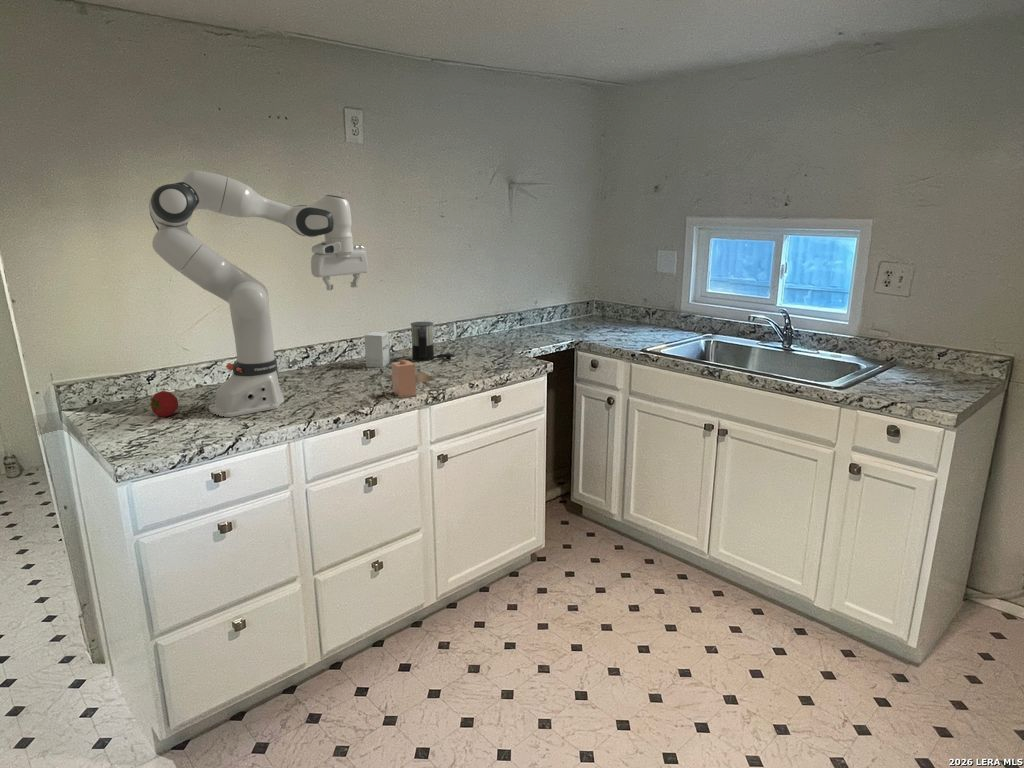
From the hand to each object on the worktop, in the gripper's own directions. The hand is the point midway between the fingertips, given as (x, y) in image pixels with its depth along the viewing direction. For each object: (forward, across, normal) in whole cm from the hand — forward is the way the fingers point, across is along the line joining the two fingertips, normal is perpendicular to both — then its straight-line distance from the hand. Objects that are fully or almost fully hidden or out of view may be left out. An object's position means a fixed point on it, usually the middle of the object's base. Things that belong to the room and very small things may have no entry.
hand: (342, 288), depth 219 cm
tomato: (+34, +56, -14) cm, 67 cm away
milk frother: (+34, -46, -8) cm, 58 cm away
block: (+33, -19, +10) cm, 39 cm away
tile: (+34, -19, +10) cm, 40 cm away
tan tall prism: (+34, -6, +23) cm, 42 cm away
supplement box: (+34, -25, -17) cm, 46 cm away
